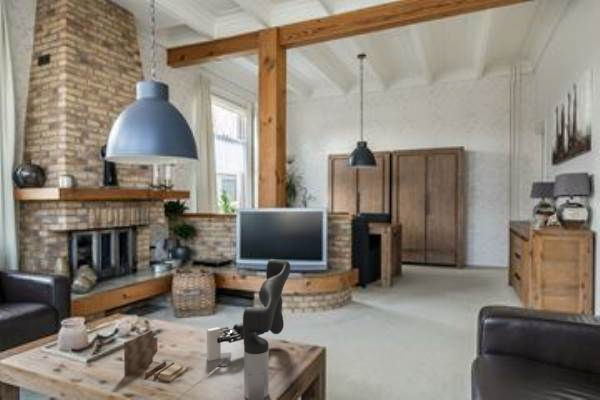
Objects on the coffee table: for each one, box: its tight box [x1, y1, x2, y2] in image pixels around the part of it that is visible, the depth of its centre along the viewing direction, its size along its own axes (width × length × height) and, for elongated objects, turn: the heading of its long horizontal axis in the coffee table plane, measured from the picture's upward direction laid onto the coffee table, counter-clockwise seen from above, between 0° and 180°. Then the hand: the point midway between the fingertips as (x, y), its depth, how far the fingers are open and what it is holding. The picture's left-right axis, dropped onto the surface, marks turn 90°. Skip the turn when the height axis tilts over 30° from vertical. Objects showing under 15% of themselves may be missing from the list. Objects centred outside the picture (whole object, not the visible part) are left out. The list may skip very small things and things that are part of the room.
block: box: [206, 326, 222, 362], centre depth 185 cm, size 6×2×14 cm, turn 127°
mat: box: [199, 352, 232, 368], centre depth 185 cm, size 14×14×1 cm
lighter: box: [153, 331, 159, 353], centre depth 193 cm, size 8×3×10 cm, turn 105°
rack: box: [123, 329, 195, 385], centre depth 171 cm, size 16×23×15 cm
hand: (213, 337), depth 185 cm, fingers open, 8 cm apart
